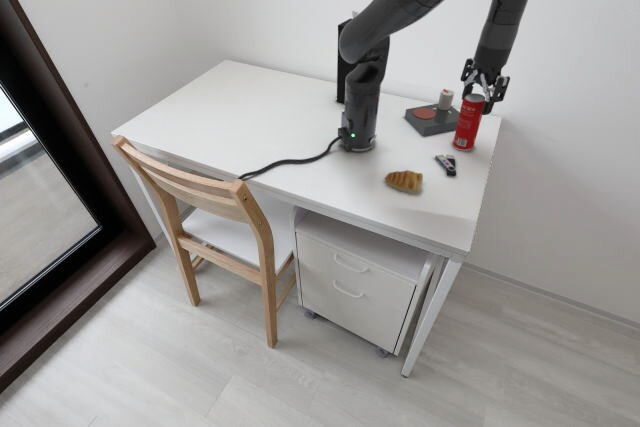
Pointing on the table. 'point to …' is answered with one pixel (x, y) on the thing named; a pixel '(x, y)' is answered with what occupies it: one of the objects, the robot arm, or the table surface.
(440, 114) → the hob
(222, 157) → the table surface
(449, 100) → the hob knob
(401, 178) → the pastry
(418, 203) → the table surface
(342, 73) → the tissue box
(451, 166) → the usb flash drive
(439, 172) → the table surface
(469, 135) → the beverage can
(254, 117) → the table surface
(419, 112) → the burner
